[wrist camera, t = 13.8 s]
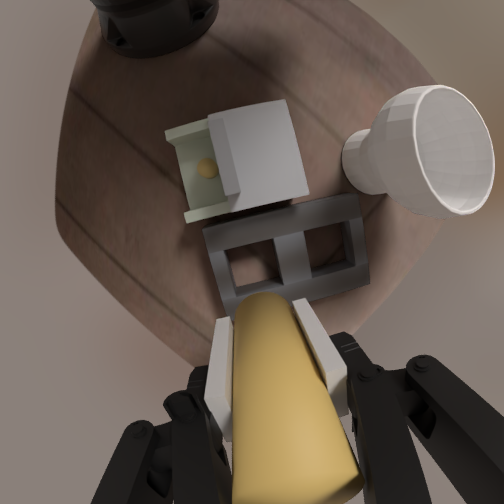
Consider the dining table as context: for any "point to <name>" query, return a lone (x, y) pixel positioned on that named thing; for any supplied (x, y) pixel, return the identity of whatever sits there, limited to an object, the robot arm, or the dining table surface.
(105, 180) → the dining table surface
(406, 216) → the dining table surface
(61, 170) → the dining table surface
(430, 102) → the cup
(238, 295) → the peg board
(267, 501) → the peg
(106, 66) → the dining table surface
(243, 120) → the lid
